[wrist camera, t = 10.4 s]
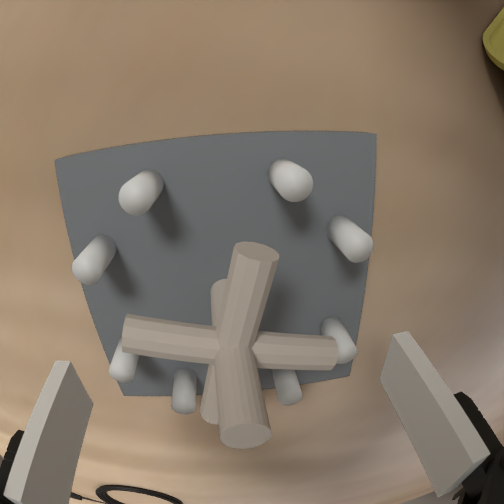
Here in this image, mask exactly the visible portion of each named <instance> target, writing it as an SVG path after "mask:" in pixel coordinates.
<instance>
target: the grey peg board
mask: <svg viewBox="0 0 504 504" xmlns="http://www.w3.org/2000/svg"><path fill="white" fill-rule="evenodd" d="M55 167H56V174H57V180H58V186H59V192H60V198H61V203H62V208H63V213H64V218H65V223H66V227H67V231H68V236H69V240H70V244H71V248H72V252H73V256H74V262H73V265H72V271H73V274H74V276H75V278H76V279H77V280H78V281H79V282H81V284H82V288H83V291H84V294H85V297H86V300H87V304H88V307H89V310H90V313H91V315H92V318H93V321H94V324H95V327H96V330H97V332H98V335H99V338H100V340H101V343H102V346H103V348H104V351H105V353H106V356H107V358H108V361H109V363H110V368H109V373H110V375H111V377H112V378H113V379H115V380H117V382H118V384H119V386H120V388H121V391H122V393H123V395H124V396H172V405H171V407H172V409H173V410H174V411H175V412H177V413H180V414H191V413H193V412H194V411H195V409H196V395H203V391H204V386H205V381H206V376H207V371H208V366H209V364H203V363H194V362H185V361H177V360H170V359H163V358H156V357H149V356H143V355H137V354H131V353H125V352H122V332H123V325H124V321H125V317H126V315H127V314H132V315H138V316H144V317H151V318H157V319H164V320H171V321H178V322H185V323H192V324H200V325H208V326H212V314H211V288H212V286H213V284H214V283H216V282H217V281H219V280H221V279H227V276H228V272H229V267H230V263H231V258H232V254H233V249H234V246H235V244H236V243H239V242H243V241H245V242H256V243H260V244H263V245H266V246H268V247H270V248H272V249H274V250H275V251H276V252H277V253H278V254H279V261H278V264H277V268H276V271H275V275H274V278H273V281H272V285H271V288H270V292H269V295H268V299H267V302H266V305H265V309H264V312H263V315H262V319H261V322H260V325H259V329H258V331H265V332H277V333H289V334H303V335H319V336H332V337H333V338H334V339H336V342H337V345H338V358H337V361H336V365H335V366H334V367H333V369H332V370H287V369H265V368H257V369H258V374H259V379H260V383H261V388H262V390H263V389H272V388H276V391H277V396H278V400H279V402H280V403H281V404H283V405H293V404H295V403H297V402H299V401H300V400H301V399H302V392H301V388H300V385H301V384H307V383H313V382H319V381H325V380H330V379H336V378H341V377H346V376H349V375H350V371H351V366H352V361H353V358H354V357H355V356H356V354H357V348H356V341H357V335H358V330H359V324H360V318H361V312H362V306H363V299H364V292H365V285H366V278H367V270H368V262H369V256H370V255H371V253H372V251H373V240H372V238H371V233H372V222H373V209H374V194H375V174H376V134H374V133H367V132H347V131H265V132H243V133H227V134H214V135H202V136H191V137H182V138H173V139H165V140H157V141H149V142H142V143H135V144H129V145H123V146H117V147H111V148H105V149H100V150H95V151H89V152H84V153H79V154H75V155H70V156H66V157H62V158H59V159H56V160H55Z"/></svg>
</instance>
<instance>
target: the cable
mask: <svg viewBox="0 0 504 504" xmlns="http://www.w3.org/2000/svg"><path fill="white" fill-rule="evenodd" d="M111 490H120V491H130V492H136V493H142V494H147V495H151V496H155V497H158V498H162V499H164V500H167V501H169V502H171V503H173V504H183V503H182V502H181V501H180V500H178V499H177V498H174V497H172V496H169V495H166V494H163V493H159V492H155V491H150V490H146V489H141V488H136V487H130V486H122V485H104V486H101V487H99V488H98V489H96V495H97V496H98V497H99V498H100V499H101V500H103V501H105V502H106V503H105V504H124V503H121V502H119V501H117V500H114V499H113V498H111V497H110V496H108V495H107V494H106V491H111ZM98 492H99V493H98ZM70 497H71V498H74V499H78V500H82V498H83V499H87V500H91V501H95V502H100V501H96V500H92V499H89V498H85V497H81V496H80V495H77V494H75V493H72V492H71V494H70ZM100 503H104V502H100Z"/></svg>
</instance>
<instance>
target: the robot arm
mask: <svg viewBox="0 0 504 504" xmlns="http://www.w3.org/2000/svg"><path fill="white" fill-rule="evenodd" d="M379 380H380V382H381V384H382V386H383V388H384V389H385V391H386V393H387V395H388V397H389V399H390V401H391V403H392V405H393V407H394V409H395V410H396V412H397V414H398V416H399V418H400V420H401V422H402V424H403V426H404V428H405V430H406V432H407V434H408V436H409V438H410V440H411V442H412V444H413V446H414V448H415V450H416V452H417V454H418V456H419V459H420V461H421V463H422V465H423V467H424V469H425V471H426V473H427V475H428V477H429V480H430V482H431V484H432V486H433V488H434V490H435V493H436V495H437V497H440V496H442V495H444V494H446V493H448V492H450V491H452V490H454V489H455V488H456V487H457V486H458V485H460V484H461V483H462V485H463V488H462V489H461V490H459V491H458V492H457V493H456V494H455V495H454V497H453V499H452V500H455V499H456V498H457V497H459V496H460V497H459V499H458V504H504V447H503V446H502V444H501V443H500V442H499V440H498V438H497V437H496V435H495V434H494V432H493V431H492V429H491V427H490V426H489V424H488V423H487V421H486V420H485V418H483V415H482V414H481V412H480V411H478V408H477V406H476V405H475V404H474V402H473V401H472V399H471V398H469V397H468V396H467V395H465V394H464V393H463V392H459V393H457V394H454V395H453V394H452V392H451V391H450V389H449V388H448V386H447V385H446V383H445V382H444V380H443V379H442V378H441V376H440V375H439V373H438V372H437V370H436V369H435V368H434V366H433V365H432V363H431V362H430V360H429V359H428V358H427V356H426V355H425V354H424V352H423V351H422V349H421V348H420V347H419V345H418V344H417V343H416V341H415V340H414V339H413V337H412V336H411V335H410V333H409V332H408V331H405V332H401V333H396V334H393V335H392V338H391V342H390V345H389V349H388V352H387V356H386V359H385V362H384V366H383V369H382V372H381V375H380V378H379ZM92 407H93V402H92V400H91V398H90V397H89V395H88V393H87V391H86V390H85V388H84V386H83V384H82V382H81V380H80V379H79V377H78V375H77V373H76V371H75V369H74V367H73V365H72V363H71V361H58V360H56V361H55V363H54V365H53V367H52V370H51V372H50V374H49V376H48V378H47V380H46V382H45V384H44V387H43V389H42V391H41V393H40V396H39V398H38V400H37V402H36V405H35V407H34V410H33V412H32V414H31V417H30V419H29V422H28V424H27V427H26V429H25V431H21V430H18V431H17V432H16V433H15V434H14V436H13V437H12V438H11V440H10V442H9V445H8V447H7V452H6V453H5V455H4V460H3V461H2V464H1V467H0V504H69V499H70V494H71V490H72V485H73V480H74V476H75V471H76V467H77V463H78V459H79V455H80V451H81V447H82V443H83V439H84V435H85V432H86V428H87V425H88V421H89V417H90V414H91V411H92Z"/></svg>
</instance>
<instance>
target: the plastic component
mask: <svg viewBox="0 0 504 504" xmlns="http://www.w3.org/2000/svg"><path fill="white" fill-rule="evenodd" d="M483 43H484V47H485V50H486V53H487V54H488V56H489V58H490V59H491V60H492V61H493V62H494V63H495V64H496V65H497V66H498V67H499V68H501V69H502V70H504V8H503V9H502V10H501V11H500V13H499V14H498V15H497V17H496V18H495V19H494V20H493V22H492V23H491V24H490V25H489V27H488V28H487V29H486V30H485V32H484V33H483Z"/></svg>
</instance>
